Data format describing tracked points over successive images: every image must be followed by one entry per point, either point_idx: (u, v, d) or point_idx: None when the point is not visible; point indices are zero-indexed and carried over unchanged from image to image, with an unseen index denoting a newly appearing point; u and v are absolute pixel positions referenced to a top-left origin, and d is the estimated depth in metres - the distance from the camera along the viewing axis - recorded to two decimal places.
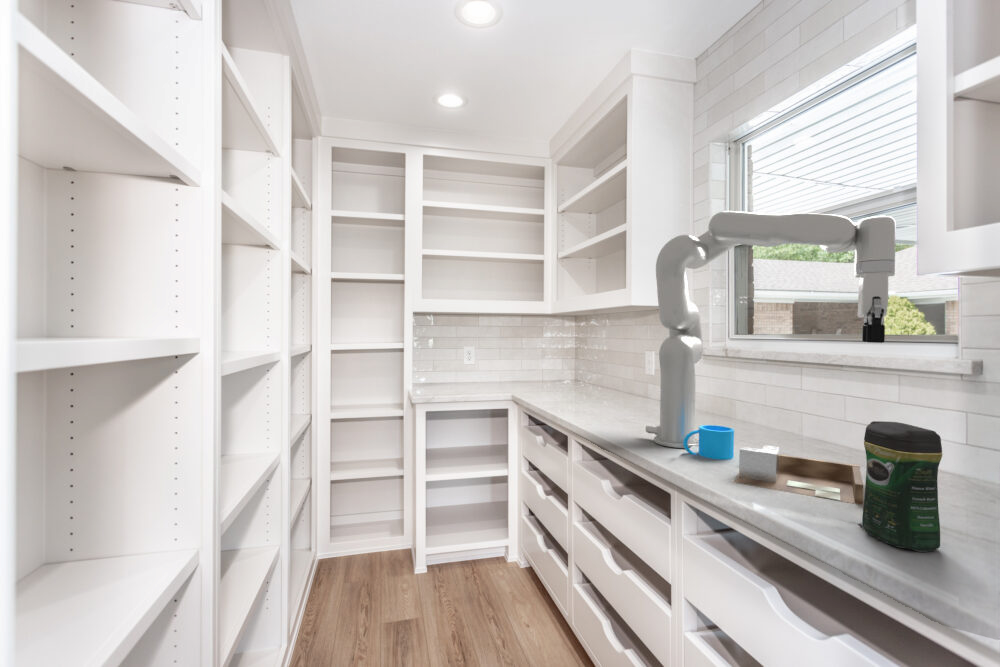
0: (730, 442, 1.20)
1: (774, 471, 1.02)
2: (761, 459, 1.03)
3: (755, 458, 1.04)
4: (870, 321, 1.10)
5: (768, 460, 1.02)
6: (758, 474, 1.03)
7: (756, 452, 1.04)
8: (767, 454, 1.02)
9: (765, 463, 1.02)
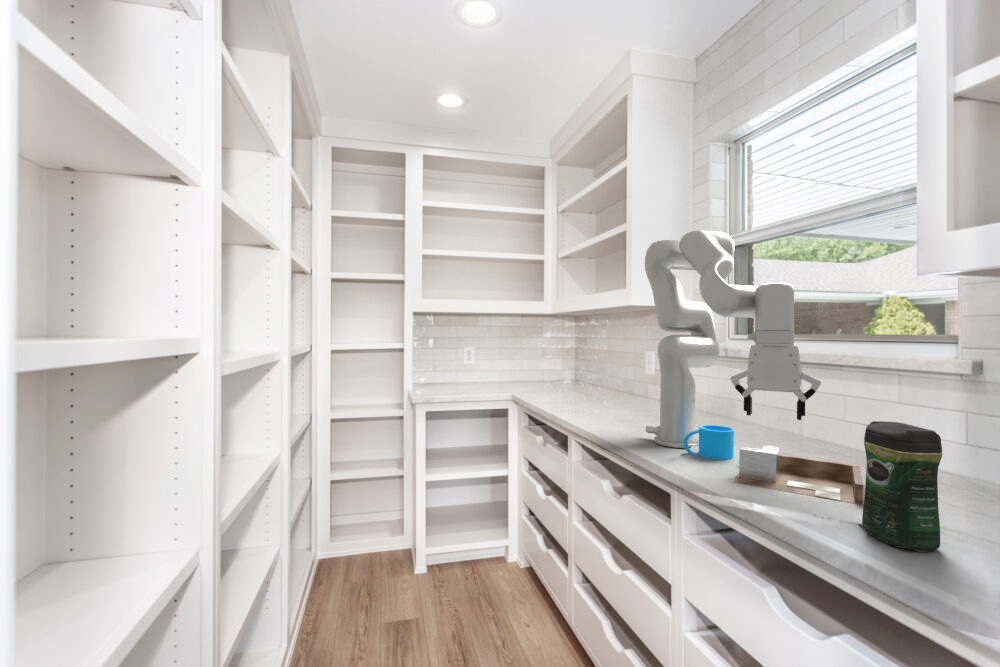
0: (730, 442, 1.20)
1: (774, 471, 1.02)
2: (761, 459, 1.03)
3: (755, 458, 1.04)
4: (806, 397, 1.02)
5: (768, 460, 1.02)
6: (758, 474, 1.03)
7: (756, 452, 1.04)
8: (767, 454, 1.02)
9: (765, 463, 1.02)
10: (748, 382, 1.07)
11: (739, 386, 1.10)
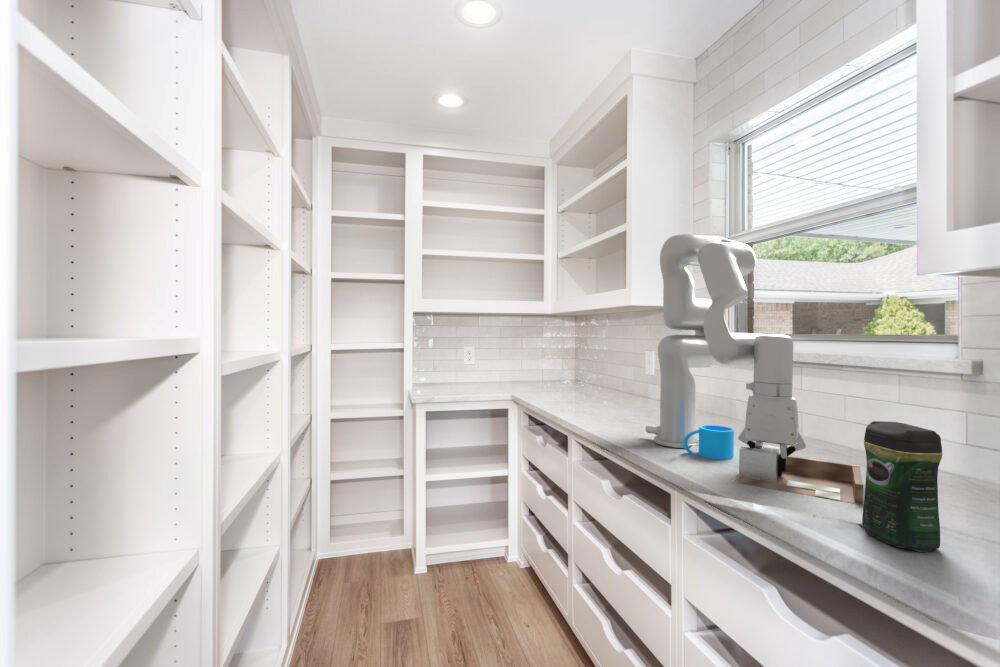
0: (730, 442, 1.20)
1: (774, 471, 1.02)
2: (761, 459, 1.03)
3: (755, 458, 1.04)
4: (786, 456, 1.05)
5: (768, 460, 1.02)
6: (758, 474, 1.03)
7: (756, 452, 1.04)
8: (767, 454, 1.02)
9: (765, 463, 1.03)
10: (746, 432, 1.08)
11: (751, 443, 1.09)
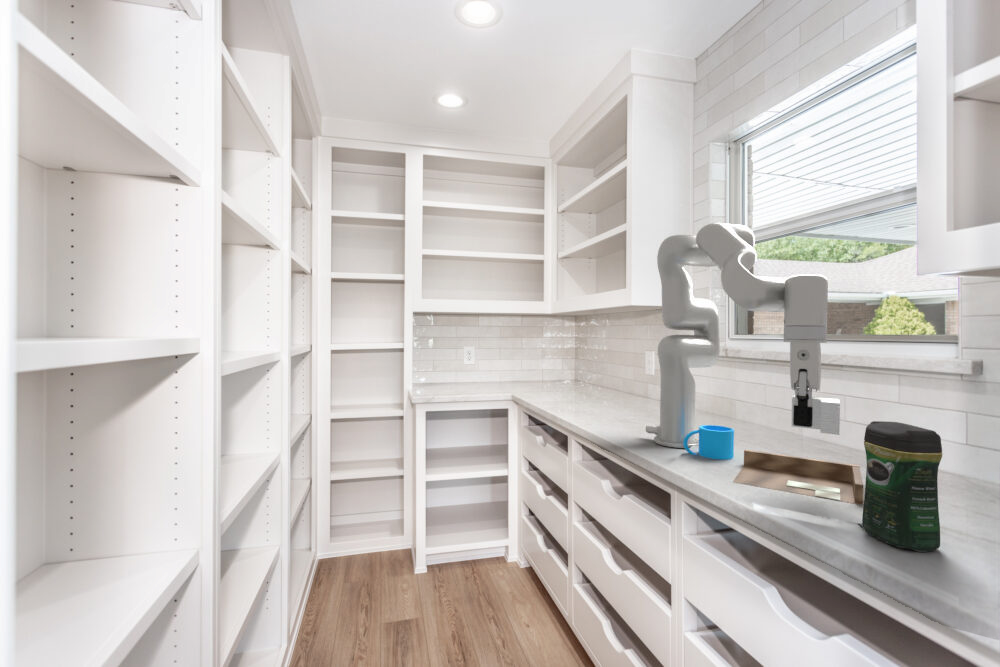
0: (730, 442, 1.20)
1: None
2: None
3: None
4: None
5: None
6: None
7: (839, 402, 0.94)
8: (839, 401, 0.96)
9: None
10: (817, 385, 0.94)
11: None
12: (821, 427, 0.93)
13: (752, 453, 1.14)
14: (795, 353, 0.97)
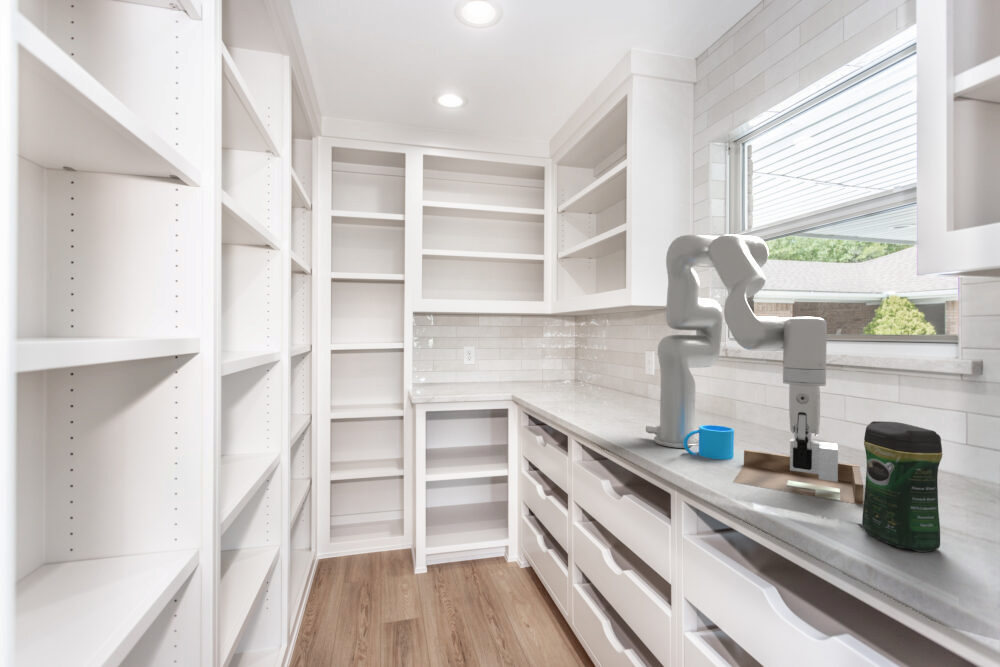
0: (730, 442, 1.20)
1: None
2: None
3: None
4: None
5: None
6: None
7: (837, 448, 0.94)
8: (837, 446, 0.96)
9: None
10: (817, 429, 0.94)
11: None
12: (819, 473, 0.93)
13: (752, 453, 1.14)
14: (794, 396, 0.97)
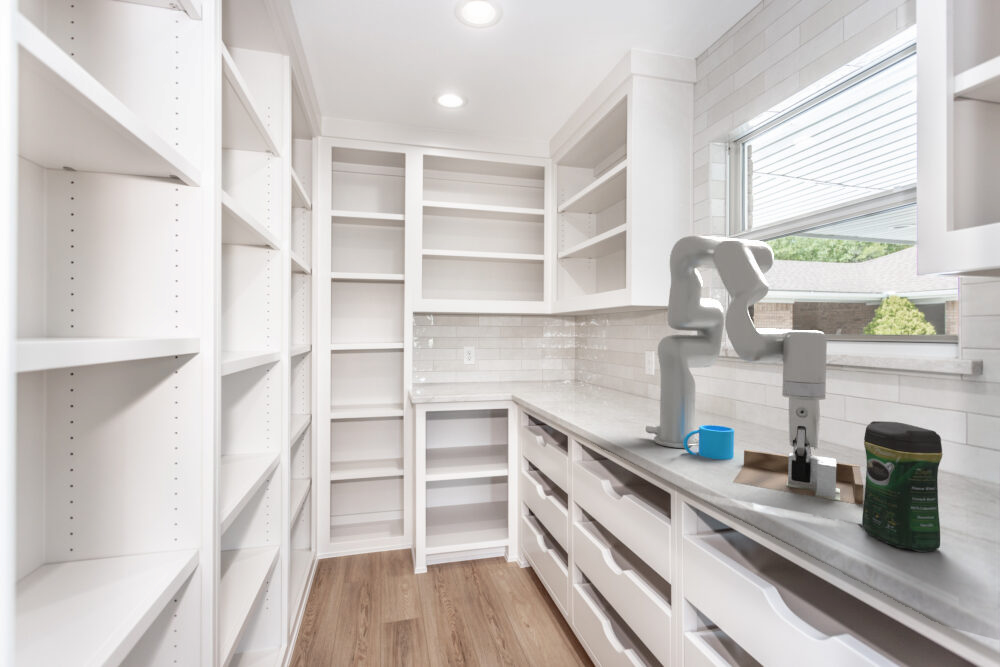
0: (730, 442, 1.20)
1: None
2: None
3: None
4: None
5: None
6: None
7: (835, 463, 0.95)
8: (835, 462, 0.96)
9: None
10: (816, 443, 0.94)
11: None
12: (817, 489, 0.94)
13: (752, 453, 1.14)
14: (794, 410, 0.97)
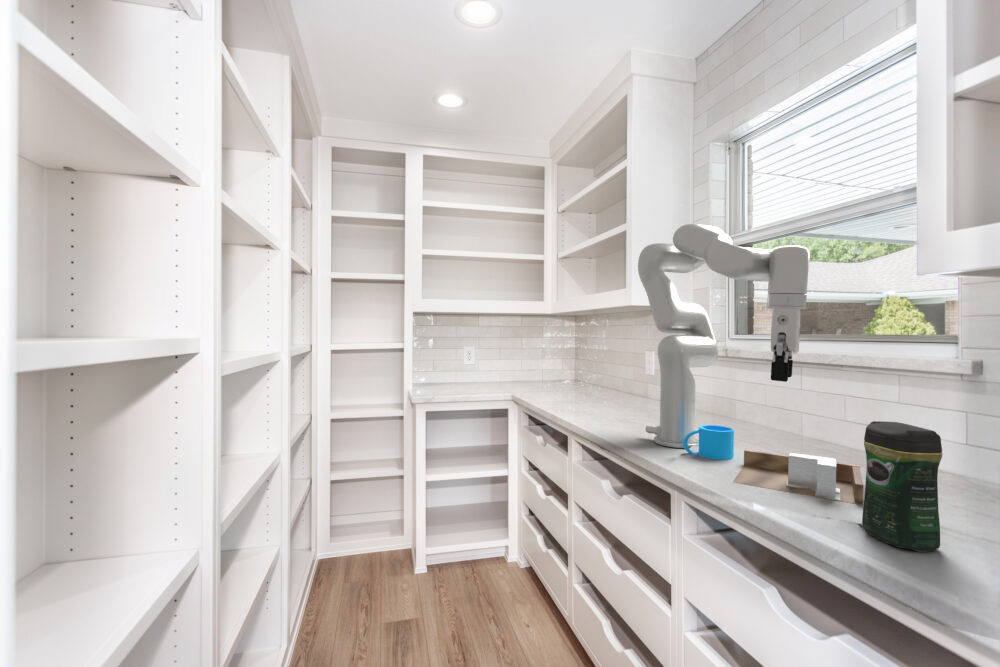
0: (730, 442, 1.20)
1: None
2: None
3: None
4: None
5: None
6: None
7: (835, 463, 0.95)
8: (835, 462, 0.96)
9: None
10: (794, 347, 1.03)
11: None
12: (817, 489, 0.94)
13: (752, 453, 1.14)
14: (776, 318, 1.05)
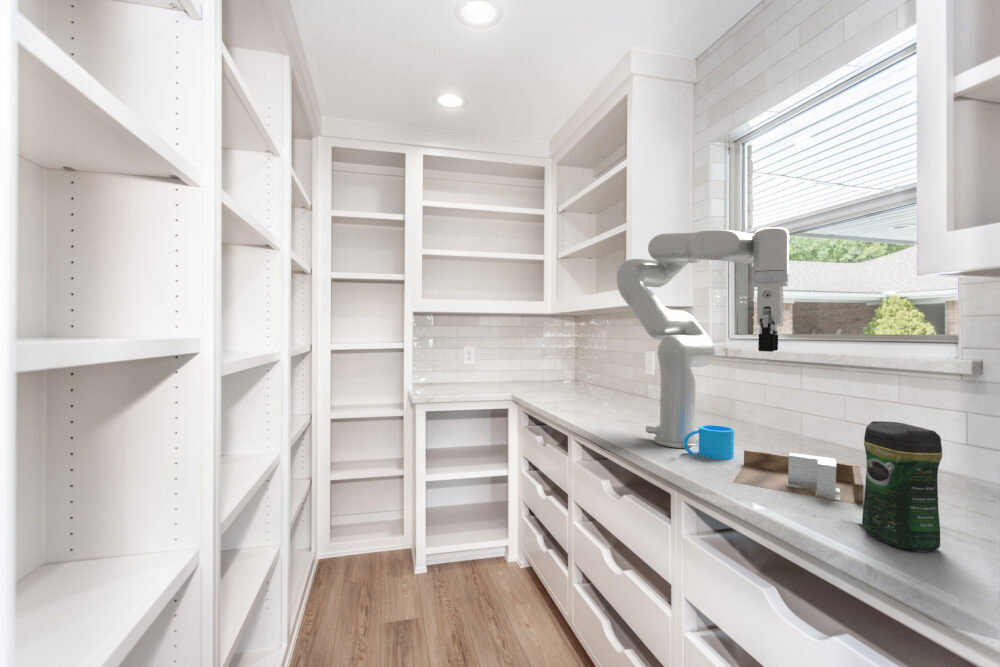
0: (730, 442, 1.20)
1: None
2: None
3: None
4: None
5: None
6: None
7: (835, 463, 0.95)
8: (835, 462, 0.96)
9: None
10: (779, 319, 1.12)
11: None
12: (817, 489, 0.94)
13: (752, 453, 1.14)
14: (761, 294, 1.14)
